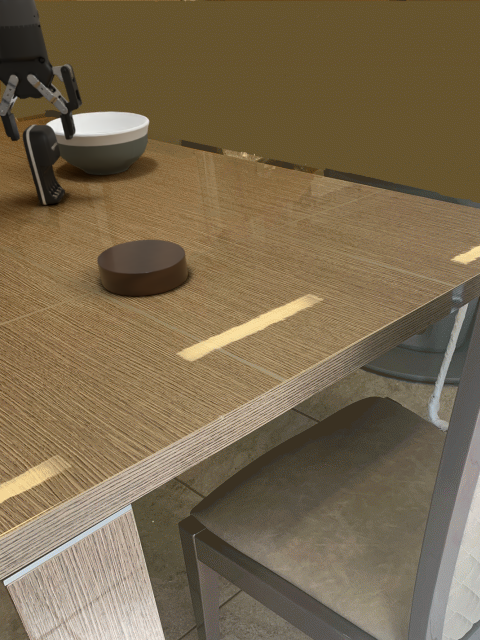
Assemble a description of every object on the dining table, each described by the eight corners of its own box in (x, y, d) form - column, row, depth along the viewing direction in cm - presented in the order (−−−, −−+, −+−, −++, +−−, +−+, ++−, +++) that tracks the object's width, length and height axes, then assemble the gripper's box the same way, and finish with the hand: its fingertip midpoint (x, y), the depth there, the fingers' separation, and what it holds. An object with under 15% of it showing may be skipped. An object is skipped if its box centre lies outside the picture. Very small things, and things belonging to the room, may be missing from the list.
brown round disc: (93, 297, 79) (88, 274, 77) (111, 261, 88) (106, 240, 86) (183, 294, 80) (180, 272, 78) (191, 259, 88) (189, 238, 87)
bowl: (144, 182, 116) (136, 134, 111) (41, 183, 116) (29, 134, 111) (164, 155, 131) (157, 111, 126) (72, 155, 131) (62, 111, 126)
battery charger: (63, 205, 106) (45, 131, 99) (39, 206, 106) (19, 132, 99) (71, 192, 112) (55, 121, 105) (49, 193, 112) (31, 122, 105)
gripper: (-49, 24, 90) (-10, 146, 100) (54, 22, 90) (82, 144, 100) (-29, 19, 96) (6, 134, 106) (68, 16, 96) (93, 132, 106)
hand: (43, 139), depth 103 cm, fingers open, 8 cm apart
